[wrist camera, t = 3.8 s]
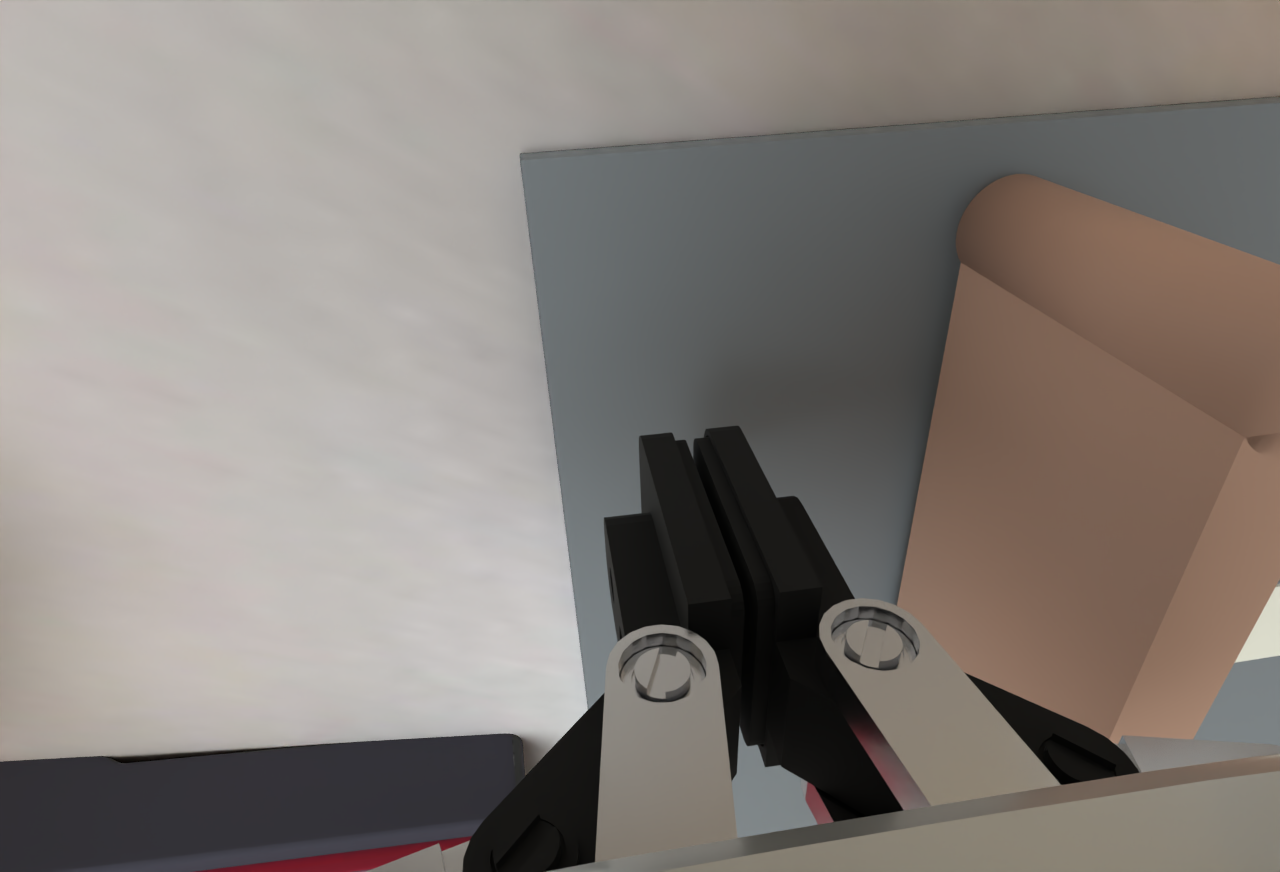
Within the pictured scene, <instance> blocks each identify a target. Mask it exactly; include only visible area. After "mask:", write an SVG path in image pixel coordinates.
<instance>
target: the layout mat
mask: <svg viewBox="0 0 1280 872" xmlns="http://www.w3.org/2000/svg"><path fill="white" fill-rule="evenodd" d="M520 163H521V171H522V179H523V187H524V196H525V204H526V212H527V220H528V228H529V236H530V244H531V252H532V260H533V268H534V276H535V284H536V293H537V301H538V309H539V317H540V325H541V333H542V341H543V349H544V357H545V365H546V373H547V381H548V390H549V398H550V406H551V414H552V422H553V430H554V438H555V446H556V454H557V462H558V470H559V478H560V486H561V495H562V503H563V511H564V519H565V527H566V535H567V543H568V551H569V559H570V567H571V575H572V583H573V592H574V600H575V608H576V616H577V624H578V632H579V640H580V648H581V656H582V664H583V672H584V680H585V689H586V697H587V705H588V710H589V708H590V707H591V706H592V705H593V704H594V703H595V702H596V701H597V700H598V699H599V698H600V697H601V696H602V695H603V694H604V693H605V677H606V665H607V662H608V658H609V654H610V652H611V651H612V649H613V648H614V647H615V645H616V644H617V635H616V629H615V622H614V616H613V610H612V603H611V596H610V589H609V580H608V571H607V561H606V549H605V536H604V517H613V516H622V515H630V514H639V513H641V488H640V464H639V436H641V435H651V434H661V433H670V432H671V433H673V435H674V438H675V441H676V440H686V442H687V444H688V447H689V449H690V452H691V455H692V457H693V442H694V439H695V438H704V433H705V430H706V429H708V428H718V427H728V426H739V427H740V428H741V430H742V432H743V434H744V435H745V437H746V439H747V441H748V443H749V445H750V447H751V449H752V451H753V453H754V455H755V457H756V459H757V461H758V463H759V465H760V467H761V469H762V470H763V472H764V474H765V476H766V478H767V480H768V482H769V484H770V486H771V488H772V490H773V492H774V494H775V496H776V498H777V497H786V496H795V497H798V499H799V500H800V502H801V503H802V505H803V506H804V508H805V510H806V512H807V514H808V515H809V517H810V519H811V521H812V523H813V524H814V526H815V528H816V530H817V531H818V533H819V535H820V537H821V539H822V540H823V542H824V544H825V546H826V548H827V549H828V551H829V553H830V555H831V557H832V558H833V560H834V562H835V564H836V566H837V567H838V569H839V571H840V573H841V574H842V576H843V578H844V580H845V582H846V583H847V585H848V587H849V589H850V591H851V592H852V594H853V596H854V598H855V599H859V598H865V599H876V600H881V601H884V602H887V603H891V604H894V605H896V606H897V602H898V597H899V592H900V586H901V581H902V576H903V570H904V565H905V559H906V554H907V549H908V543H909V538H910V533H911V527H912V522H913V516H914V511H915V506H916V500H917V495H918V490H919V484H920V479H921V474H922V468H923V463H924V457H925V452H926V447H927V441H928V436H929V431H930V425H931V420H932V414H933V409H934V404H935V398H936V393H937V388H938V382H939V377H940V372H941V366H942V361H943V355H944V350H945V345H946V339H947V334H948V329H949V323H950V318H951V312H952V307H953V302H954V296H955V291H956V286H957V280H958V275H959V270H960V264H961V262H960V260H959V258H958V254H957V250H956V233H957V229H958V225H959V222H960V220H961V217H962V215H963V213H964V211H965V210H966V208H967V206H968V205H969V204H970V202H971V201H972V200H973V199H974V197H975V196H976V195H977V194H978V193H979V192H980V191H982V190H983V189H984V188H985V187H987V186H988V185H989V184H991V183H993V182H994V181H996V180H998V179H1000V178H1003V177H1006V176H1009V175H1014V174H1029V175H1033V176H1036V177H1039V178H1042V179H1044V180H1047V181H1050V182H1053V183H1055V184H1058V185H1061V186H1064V187H1066V188H1069V189H1072V190H1075V191H1077V192H1080V193H1083V194H1086V195H1089V196H1091V197H1094V198H1097V199H1100V200H1102V201H1105V202H1108V203H1111V204H1113V205H1116V206H1119V207H1122V208H1124V209H1127V210H1130V211H1133V212H1135V213H1138V214H1141V215H1144V216H1146V217H1149V218H1152V219H1155V220H1158V221H1160V222H1163V223H1166V224H1169V225H1171V226H1174V227H1177V228H1180V229H1182V230H1185V231H1188V232H1191V233H1193V234H1196V235H1199V236H1202V237H1204V238H1207V239H1210V240H1213V241H1216V242H1218V243H1221V244H1224V245H1227V246H1229V247H1232V248H1235V249H1238V250H1240V251H1243V252H1246V253H1249V254H1251V255H1254V256H1257V257H1260V258H1262V259H1265V260H1268V261H1271V262H1273V263H1276V264H1279V265H1280V97H1269V98H1255V99H1242V100H1229V101H1216V102H1202V103H1189V104H1176V105H1162V106H1149V107H1136V108H1122V109H1109V110H1096V111H1082V112H1069V113H1056V114H1043V115H1029V116H1016V117H1003V118H989V119H976V120H963V121H949V122H936V123H923V124H909V125H896V126H883V127H870V128H856V129H843V130H830V131H816V132H803V133H790V134H776V135H763V136H750V137H736V138H723V139H710V140H697V141H683V142H670V143H657V144H643V145H630V146H617V147H603V148H590V149H577V150H563V151H550V152H537V153H524V154H520ZM1193 740H1209V741H1226V742H1242V743H1259V744H1272V745H1277V746H1280V580H1279V581H1278V583H1277V585H1276V587H1275V589H1274V591H1273V593H1272V594H1271V596H1270V598H1269V600H1268V602H1267V604H1266V605H1265V607H1264V609H1263V611H1262V613H1261V615H1260V617H1259V618H1258V620H1257V622H1256V624H1255V626H1254V628H1253V629H1252V631H1251V633H1250V635H1249V637H1248V639H1247V641H1246V642H1245V644H1244V646H1243V648H1242V650H1241V652H1240V653H1239V655H1238V657H1237V659H1236V661H1235V663H1234V665H1233V666H1232V668H1231V670H1230V672H1229V674H1228V676H1227V677H1226V679H1225V681H1224V683H1223V685H1222V687H1221V689H1220V690H1219V692H1218V694H1217V696H1216V698H1215V700H1214V701H1213V703H1212V705H1211V707H1210V709H1209V711H1208V713H1207V714H1206V716H1205V718H1204V720H1203V722H1202V724H1201V725H1200V727H1199V729H1198V731H1197V733H1196V735H1195V737H1194V738H1193ZM731 782H732V791H733V800H734V809H735V819H736V828H737V837H738V838H742V837H747V836H753V835H759V834H765V833H771V832H777V831H783V830H789V829H795V828H801V827H807V826H813V825H818V823H817V821H816V819H815V818H814V816H813V814H812V812H811V810H810V808H809V806H808V804H807V802H806V801H805V798H804V795H803V792H802V789H801V787H800V777H798V776H796V775H795V774H793V773H791V772H789V771H788V770H786V769H784V768H782V767H781V765H778V766H771V767H765V766H764V763H763V759H762V756H761V753H760V750H759V747H758V745H754V746H747V745H746V744H745V741H744V739H743V736H742V732H741V729H740V726H739V743H738V761H737V774H736V776H735V777H734V778H733V780H732V781H731Z"/></svg>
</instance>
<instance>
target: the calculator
mask: <svg viewBox="0 0 1280 872" xmlns="http://www.w3.org/2000/svg"><path fill="white" fill-rule="evenodd" d="M524 777H525V771H524V758H523V745H522V740H521V739H520V738H519V737H518V736H516V735H513V734H490V735H472V736H454V737H436V738H419V739H401V740H384V741H367V742H352V743H338V744H325V745H312V746H301V747H290V748H280V749H270V750H259V751H249V752H239V753H228V754H218V755H208V756H197V757H187V758H176V759H166V760H155V761H144V762H133V763H119V762H117V761H115V760H113V759H111V758H109V757H104V756H97V757H76V758H58V759H40V760H22V761H5V762H0V872H366V871H369V870H372V869H374V868H377V867H379V866H382V865H384V864H387V863H390V862H392V861H395V860H397V859H400V858H402V857H405V856H408V855H410V854H413V853H415V852H418V851H420V850H423V849H426V848H428V847H431V846H433V845H436V844H438V843H439V845H440V848H441V851H444V850H447V849H449V848H452V847H454V846H457V845H459V844H462V843H465V842H467V841H470V839H471V837H472V836H473V834H474V833H475V832H476V830H477V829H478V827H479V826H480V825H481V823H482V822H483V821H484V820H485V819H486V817H487V816H488V815H489V814H490V813H491V812H492V811H493V810H494V809H495V808H496V807H497V806H498V805H499V804H500V803H501V802H502V801H503V799H504V798H505V797H506V796H507V795H508V794H509V793H510V792H511V791H512V790H513V789H514V788H515V787H516V786H517V785H518V784H519V783H520V781H521V780H522V779H523V778H524Z"/></svg>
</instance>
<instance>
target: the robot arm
mask: <svg viewBox="0 0 1280 872" xmlns="http://www.w3.org/2000/svg"><path fill="white" fill-rule="evenodd" d="M639 464H640V488H641V513H639V514H630V515H622V516H613V517H604V536H605V549H606V561H607V571H608V580H609V589H610V596H611V603H612V610H613V616H614V622H615V629H616V635H617V644H616V645H615V647H614V648H613V649H612V651H611V652H610V654H609V658H608V662H607V665H606V677H605V693H604V694H603V695H602V696H601V697H600V698H599V699H598V700H597V701H596V702H595V703H594V704H593V705H592V706H591V707H590V708H589V710H588V711H587V712H586V713H585V714H584V715H583V716H582V717H581V718H580V719H579V720H578V721H577V722H576V723H575V724H574V725H573V726H572V728H571V729H570V730H569V731H568V732H567V733H566V734H565V735H564V736H563V737H562V738H561V739H560V740H559V741H558V742H557V743H556V744H555V746H554V747H553V748H552V749H551V750H550V751H549V752H548V753H547V754H546V755H545V756H544V757H543V758H542V759H541V760H540V761H539V762H538V763H537V765H536V766H535V767H534V768H533V769H532V770H531V771H530V772H529V773H528V774H527V775H526V776H525V777H524V778H523V779H522V780H521V781H520V783H519V784H518V785H517V786H516V787H515V788H514V789H513V790H512V791H511V792H510V793H509V794H508V795H507V796H506V797H505V798H504V799H503V801H502V802H501V803H500V804H499V805H498V806H497V807H496V808H495V809H494V810H493V811H492V812H491V813H490V814H489V815H488V816H487V817H486V819H485V820H484V821H483V822H482V823H481V825H480V826H479V827H478V829H477V830H476V832H475V833H474V834H473V836H472V837H471V839H470V841H467V842H465V843H462V844H459V845H457V846H454V847H452V848H449V849H447V850H444V851H441V848H440V845H439V843H438V844H436V845H433V846H431V847H428V848H426V849H423V850H420V851H418V852H415V853H413V854H410V855H408V856H405V857H402V858H400V859H397V860H395V861H392V862H390V863H387V864H384V865H382V866H379V867H377V868H374V869H372V870H369V871H366V872H1280V746H1277V745H1272V744H1259V743H1242V742H1226V741H1209V740H1193V739H1176V738H1160V737H1143V736H1126V735H1122V737H1121V739H1120V741H1119V743H1118V744H1115V743H1113V742H1112V741H1110V740H1109V739H1108V738H1107V737H1105V736H1103V735H1101V734H1100V733H1098V732H1096V731H1094V730H1092V729H1091V728H1089V727H1087V726H1085V725H1082V724H1080V723H1078V722H1076V721H1073V720H1071V719H1069V718H1067V717H1064V716H1062V715H1060V714H1057V713H1055V712H1053V711H1051V710H1048V709H1046V708H1044V707H1042V706H1039V705H1037V704H1035V703H1033V702H1030V701H1028V700H1026V699H1024V698H1021V697H1019V696H1017V695H1014V694H1012V693H1010V692H1008V691H1005V690H1003V689H1001V688H999V687H996V686H994V685H992V684H990V683H987V682H985V681H983V680H981V679H978V678H976V677H974V676H971V675H969V674H967V673H965V672H963V671H962V669H961V668H960V667H959V666H958V665H957V664H956V662H955V661H954V660H953V659H952V658H951V657H950V655H949V654H948V653H947V652H946V651H945V650H944V649H943V647H942V646H941V645H940V644H939V643H938V642H937V640H936V639H935V638H934V637H933V636H932V635H931V633H930V632H929V631H928V630H927V629H926V628H925V626H924V625H923V624H922V623H921V622H920V621H918V620H917V619H916V618H915V617H914V616H913V615H912V614H911V613H909V612H907V611H905V610H904V609H902V608H900V607H898V606H896V605H894V604H891V603H887V602H884V601H881V600H876V599H865V598H859V599H855V598H854V596H853V594H852V592H851V591H850V589H849V587H848V585H847V583H846V582H845V580H844V578H843V576H842V574H841V573H840V571H839V569H838V567H837V566H836V564H835V562H834V560H833V558H832V557H831V555H830V553H829V551H828V549H827V548H826V546H825V544H824V542H823V540H822V539H821V537H820V535H819V533H818V531H817V530H816V528H815V526H814V524H813V523H812V521H811V519H810V517H809V515H808V514H807V512H806V510H805V508H804V506H803V505H802V503H801V502H800V500H799V499H798V497H795V496H786V497H777V498H776V496H775V494H774V492H773V490H772V488H771V486H770V484H769V482H768V480H767V478H766V476H765V474H764V472H763V470H762V469H761V467H760V465H759V463H758V461H757V459H756V457H755V455H754V453H753V451H752V449H751V447H750V445H749V443H748V441H747V439H746V437H745V435H744V434H743V432H742V430H741V428H740V427H739V426H728V427H718V428H708V429H706V430H705V433H704V438H695V439H694V442H693V457H692V455H691V452H690V449H689V447H688V444H687V442H686V440H676V441H675V438H674V435H673V433H671V432H670V433H661V434H651V435H641V436H639ZM739 726H740V729H741V732H742V736H743V739H744V741H745V744H746V745H747V746H754V745H758V747H759V750H760V753H761V756H762V759H763V763H764V766H765V767H771V766H778V765H781V767H782V768H784V769H786V770H788V771H789V772H791V773H793V774H795V775H796V776H798V777H800V787H801V789H802V792H803V795H804V798H805V801H806V802H807V804H808V806H809V808H810V810H811V812H812V814H813V816H814V818H815V819H816V821H817V823H818V825H813V826H807V827H801V828H795V829H789V830H783V831H777V832H771V833H765V834H759V835H753V836H747V837H742V838H738V837H737V828H736V819H735V809H734V800H733V791H732V782H731V781H732V780H733V778H734V777H735V776H736V774H737V761H738V743H739Z"/></svg>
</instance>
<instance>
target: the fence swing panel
mask: <svg viewBox="0 0 1280 872" xmlns="http://www.w3.org/2000/svg"><path fill="white" fill-rule="evenodd" d="M956 250H957V254H958V258H959V260H960V262H961V264H960V270H959V275H958V280H957V286H956V291H955V296H954V302H953V307H952V312H951V318H950V323H949V329H948V334H947V339H946V345H945V350H944V355H943V361H942V366H941V372H940V377H939V382H938V388H937V393H936V398H935V404H934V409H933V414H932V420H931V425H930V431H929V436H928V441H927V447H926V452H925V457H924V463H923V468H922V474H921V479H920V484H919V490H918V495H917V500H916V506H915V511H914V516H913V522H912V527H911V533H910V538H909V543H908V549H907V554H906V559H905V565H904V570H903V576H902V581H901V586H900V592H899V597H898V602H897V606H898V607H900V608H902V609H904V610H905V611H907V612H909V613H911V614H912V615H913V616H914V617H915V618H916V619H917V620H918V621H920V622H921V623H922V624H923V625H924V626H925V628H926V629H927V630H928V631H929V632H930V633H931V635H932V636H933V637H934V638H935V639H936V640H937V642H938V643H939V644H940V645H941V646H942V647H943V649H944V650H945V651H946V652H947V653H948V654H949V655H950V657H951V658H952V659H953V660H954V661H955V662H956V664H957V665H958V666H959V667H960V668H961V669H962V671H963V672H965V673H967V674H969V675H971V676H974V677H976V678H978V679H981V680H983V681H985V682H987V683H990V684H992V685H994V686H996V687H999V688H1001V689H1003V690H1005V691H1008V692H1010V693H1012V694H1014V695H1017V696H1019V697H1021V698H1024V699H1026V700H1028V701H1030V702H1033V703H1035V704H1037V705H1039V706H1042V707H1044V708H1046V709H1048V710H1051V711H1053V712H1055V713H1057V714H1060V715H1062V716H1064V717H1067V718H1069V719H1071V720H1073V721H1076V722H1078V723H1080V724H1082V725H1085V726H1087V727H1089V728H1091V729H1092V730H1094V731H1096V732H1098V733H1100V734H1101V735H1103V736H1105V737H1107V738H1108V739H1109V740H1110V741H1112V742H1113V743H1115V744H1118V743H1119V741H1120V739H1121V737H1122V735H1126V736H1143V737H1160V738H1176V739H1193V738H1194V737H1195V735H1196V733H1197V731H1198V729H1199V727H1200V725H1201V724H1202V722H1203V720H1204V718H1205V716H1206V714H1207V713H1208V711H1209V709H1210V707H1211V705H1212V703H1213V701H1214V700H1215V698H1216V696H1217V694H1218V692H1219V690H1220V689H1221V687H1222V685H1223V683H1224V681H1225V679H1226V677H1227V676H1228V674H1229V672H1230V670H1231V668H1232V666H1233V665H1234V663H1235V661H1236V659H1237V657H1238V655H1239V653H1240V652H1241V650H1242V648H1243V646H1244V644H1245V642H1246V641H1247V639H1248V637H1249V635H1250V633H1251V631H1252V629H1253V628H1254V626H1255V624H1256V622H1257V620H1258V618H1259V617H1260V615H1261V613H1262V611H1263V609H1264V607H1265V605H1266V604H1267V602H1268V600H1269V598H1270V596H1271V594H1272V593H1273V591H1274V589H1275V587H1276V585H1277V583H1278V581H1279V580H1280V265H1279V264H1276V263H1273V262H1271V261H1268V260H1265V259H1262V258H1260V257H1257V256H1254V255H1251V254H1249V253H1246V252H1243V251H1240V250H1238V249H1235V248H1232V247H1229V246H1227V245H1224V244H1221V243H1218V242H1216V241H1213V240H1210V239H1207V238H1204V237H1202V236H1199V235H1196V234H1193V233H1191V232H1188V231H1185V230H1182V229H1180V228H1177V227H1174V226H1171V225H1169V224H1166V223H1163V222H1160V221H1158V220H1155V219H1152V218H1149V217H1146V216H1144V215H1141V214H1138V213H1135V212H1133V211H1130V210H1127V209H1124V208H1122V207H1119V206H1116V205H1113V204H1111V203H1108V202H1105V201H1102V200H1100V199H1097V198H1094V197H1091V196H1089V195H1086V194H1083V193H1080V192H1077V191H1075V190H1072V189H1069V188H1066V187H1064V186H1061V185H1058V184H1055V183H1053V182H1050V181H1047V180H1044V179H1042V178H1039V177H1036V176H1033V175H1029V174H1014V175H1009V176H1006V177H1003V178H1000V179H998V180H996V181H994V182H993V183H991V184H989V185H988V186H987V187H985V188H984V189H983V190H982V191H980V192H979V193H978V194H977V195H976V196H975V197H974V199H973V200H972V201H971V202H970V204H969V205H968V206H967V208H966V210H965V211H964V213H963V215H962V217H961V220H960V222H959V225H958V229H957V233H956Z"/></svg>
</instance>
